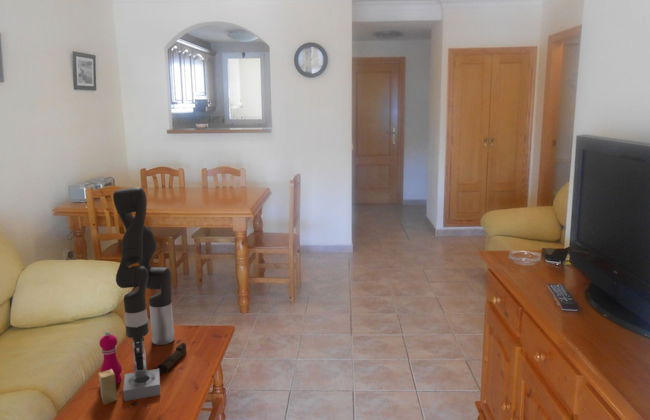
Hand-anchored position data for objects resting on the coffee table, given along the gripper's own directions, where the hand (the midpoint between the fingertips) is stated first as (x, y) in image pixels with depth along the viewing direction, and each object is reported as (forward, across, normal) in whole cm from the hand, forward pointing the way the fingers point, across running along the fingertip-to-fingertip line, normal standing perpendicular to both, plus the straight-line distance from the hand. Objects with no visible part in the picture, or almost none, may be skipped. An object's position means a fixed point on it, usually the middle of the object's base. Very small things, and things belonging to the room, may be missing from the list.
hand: (140, 366), depth 180 cm
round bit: (+3, 0, 0) cm, 3 cm away
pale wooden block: (+9, +3, -11) cm, 15 cm away
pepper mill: (+9, -10, -11) cm, 17 cm away
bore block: (+9, 0, 0) cm, 9 cm away
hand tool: (+9, -18, +11) cm, 23 cm away
